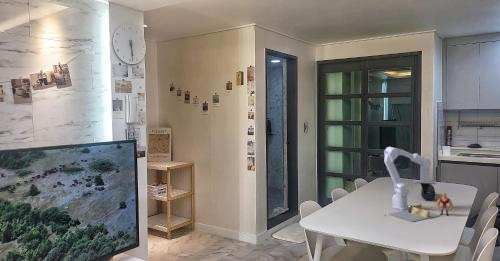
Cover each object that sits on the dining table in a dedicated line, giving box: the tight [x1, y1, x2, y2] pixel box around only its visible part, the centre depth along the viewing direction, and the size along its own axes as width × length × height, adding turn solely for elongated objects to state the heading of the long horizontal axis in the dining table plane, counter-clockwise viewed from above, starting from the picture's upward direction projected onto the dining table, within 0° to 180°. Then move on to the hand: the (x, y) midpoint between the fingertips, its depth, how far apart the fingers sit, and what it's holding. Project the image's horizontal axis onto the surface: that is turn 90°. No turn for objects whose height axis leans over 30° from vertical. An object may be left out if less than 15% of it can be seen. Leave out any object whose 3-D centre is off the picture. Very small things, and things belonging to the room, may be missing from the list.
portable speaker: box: [420, 184, 437, 201], centre depth 280 cm, size 25×10×10 cm, turn 156°
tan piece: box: [412, 207, 430, 217], centre depth 234 cm, size 13×1×4 cm, turn 27°
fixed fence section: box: [412, 203, 422, 209], centre depth 244 cm, size 1×9×4 cm, turn 115°
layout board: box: [388, 209, 442, 223], centre depth 236 cm, size 19×26×1 cm
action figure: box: [436, 192, 453, 217], centre depth 235 cm, size 9×4×15 cm, turn 53°
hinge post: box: [407, 204, 413, 213], centre depth 241 cm, size 2×2×4 cm
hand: (424, 194), depth 254 cm, fingers closed
